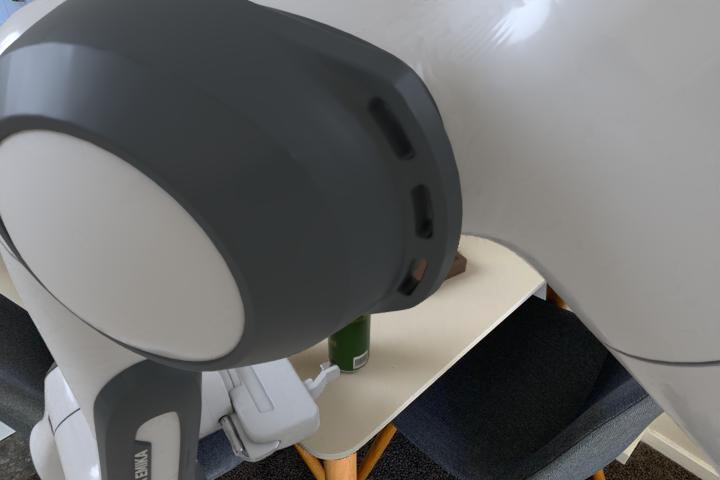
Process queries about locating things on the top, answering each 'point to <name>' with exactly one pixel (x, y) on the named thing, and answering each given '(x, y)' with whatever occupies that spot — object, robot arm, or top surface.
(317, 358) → the top surface
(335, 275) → the robot arm
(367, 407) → the top surface
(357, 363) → the beer can
